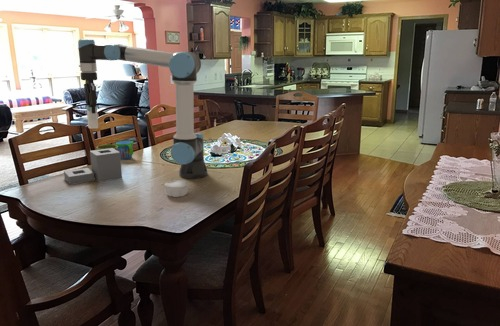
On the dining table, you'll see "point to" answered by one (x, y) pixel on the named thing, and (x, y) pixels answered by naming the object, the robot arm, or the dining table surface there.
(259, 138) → the dining table surface
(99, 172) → the block
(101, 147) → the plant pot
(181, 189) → the ramekin
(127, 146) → the snack cup
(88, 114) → the plug
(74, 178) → the plate
